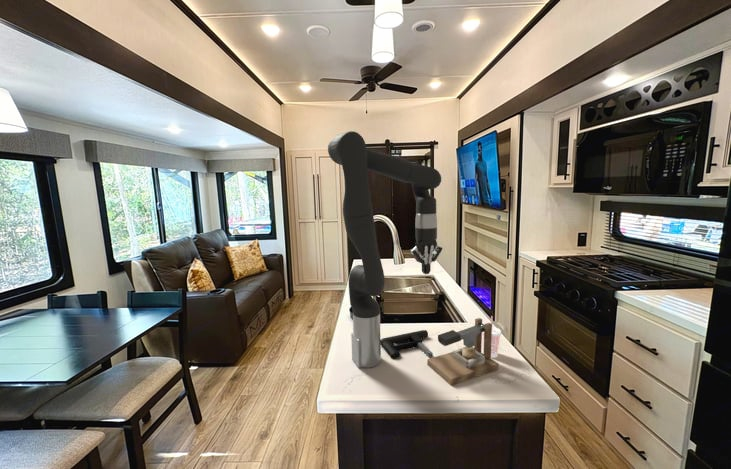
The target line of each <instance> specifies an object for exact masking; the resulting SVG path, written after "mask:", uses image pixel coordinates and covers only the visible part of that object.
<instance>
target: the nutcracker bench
mask: <svg viewBox="0 0 731 469" xmlns="http://www.w3.org/2000/svg"><path fill="white" fill-rule="evenodd" d="M480 323H482V324H483V319H482V318H480V317H479V318H475V319H474V326H476V325H479V324H480ZM484 325H485V326H484V352H482V346H483V342H482V341H483V332H482V333H479V334H476V345H475V346H473V347H472V348H474V349H475V358H473V359H470V360H467V359H466V358H464V357H463V356H462V348H463V347H462V348H457V349H454V350H452V351H451V352H448V353H445V354H440V355H438V356H434V357H429V358H427V364H426V365H427V366H428V367H429V368H430V369H431V370H432V371H434V372H435V373H436V374H438V375H439V377H440V378H442V379H443V380H444V381H445V382H446V383H448V384H449V385H450V386H454V385H456V384H459V383H460V384H461V383H463V382H466V381H469V380H471V379H474V378H477V377H480V376H485V375H486V374H490V373H493V372H494V371H495V372H496V371H498V370H499V366H500V364H499V362H497V361H495V360H493V358H491V339H492V327H493V323H492V324H491V322H487V323H484Z"/></svg>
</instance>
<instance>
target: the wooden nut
mask: <svg viewBox="0 0 731 469" xmlns="http://www.w3.org/2000/svg"><path fill="white" fill-rule="evenodd" d="M462 356H463V357H464V358H466V359H467V360H470V359H473V358H475V349H474V347H473V348H472V347H470V348H468V347H466V346H463V347H462Z"/></svg>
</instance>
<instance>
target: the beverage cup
mask: <svg viewBox="0 0 731 469" xmlns="http://www.w3.org/2000/svg"><path fill="white" fill-rule="evenodd" d="M493 318H494V317H493V315H491V316H490V323H491V324H492V325H493V320H494V319H493ZM501 333H502V330H501V329H500V328H499V327H495V326H492V339H491V359H493V358H497V357H498V352H499V345H500V337H501V336H500V335H501ZM482 341H483V342H482V346H483V348H482V349H483V352H482V353H484V332H482Z"/></svg>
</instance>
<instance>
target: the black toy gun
mask: <svg viewBox="0 0 731 469" xmlns="http://www.w3.org/2000/svg"><path fill="white" fill-rule="evenodd" d="M427 337H429V332H428V331H427V330H426V329H423V330H418V331H417V330H416V331H413V332H407V333H403V334H398V335H393V336H388V337H383V338H380V342H381V347H383V349H384V350H385V352H386V353H387V354H388V356H390V358H391V359H398V358H400V357H401V351H404V350H405V349H406V350H409V348H410V349H414V348H418V350H420V351H421V352H422V353H423V352H424V353H423V354H424V355H425V354H426V355H425V356H426V357H427V359H430V358H433V357H432V356H433V355H434V353H433V352H432V351H431V350H430V349H429V348H428V347H427V346H426V345H425V344H424V343H423V339H425V338H427ZM421 338H422V339H421ZM413 347H414V348H413Z"/></svg>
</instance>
